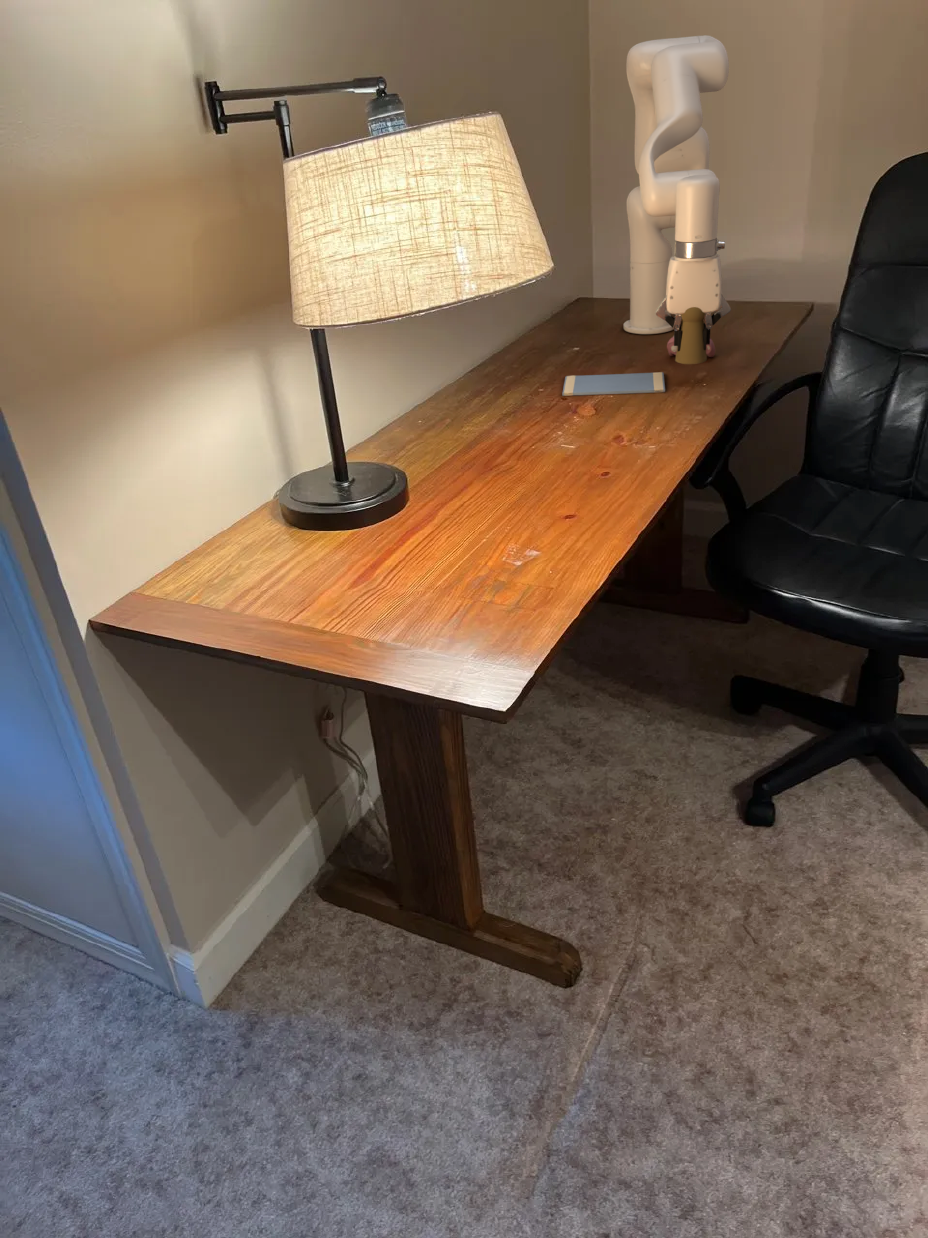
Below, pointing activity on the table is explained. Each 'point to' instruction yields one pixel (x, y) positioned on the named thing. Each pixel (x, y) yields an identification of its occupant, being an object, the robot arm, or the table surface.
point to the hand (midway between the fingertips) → (691, 347)
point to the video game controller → (673, 349)
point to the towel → (614, 384)
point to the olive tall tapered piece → (692, 337)
